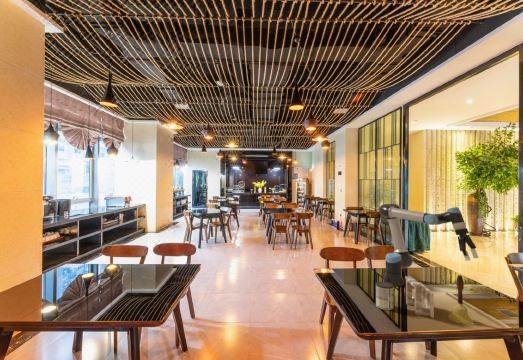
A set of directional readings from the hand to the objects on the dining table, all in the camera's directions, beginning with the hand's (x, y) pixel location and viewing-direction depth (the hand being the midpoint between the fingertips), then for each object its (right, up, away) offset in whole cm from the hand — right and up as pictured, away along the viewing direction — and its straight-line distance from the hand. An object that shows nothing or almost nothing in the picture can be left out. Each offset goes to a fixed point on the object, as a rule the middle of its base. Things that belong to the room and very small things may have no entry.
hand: (472, 259), depth 187 cm
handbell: (-31, -26, -31) cm, 51 cm away
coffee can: (-67, -26, -15) cm, 74 cm away
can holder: (-48, -26, -18) cm, 57 cm away
